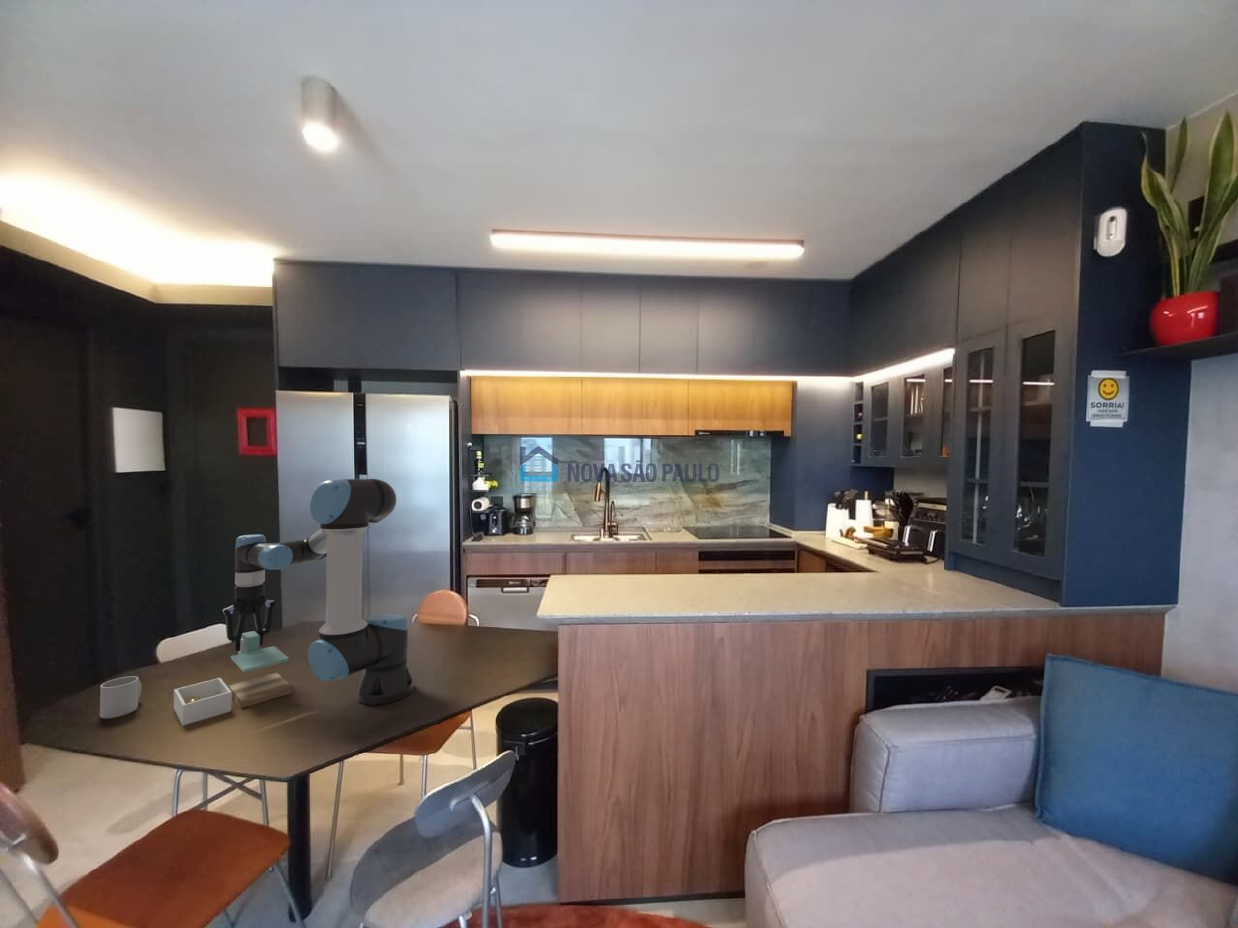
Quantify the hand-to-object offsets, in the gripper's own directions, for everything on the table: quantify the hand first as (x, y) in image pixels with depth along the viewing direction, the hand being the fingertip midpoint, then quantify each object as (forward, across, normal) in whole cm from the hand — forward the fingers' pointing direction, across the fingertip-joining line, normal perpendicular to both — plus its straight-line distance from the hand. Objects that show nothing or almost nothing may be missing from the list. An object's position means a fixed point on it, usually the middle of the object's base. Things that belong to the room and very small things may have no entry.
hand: (248, 658), depth 150 cm
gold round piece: (+7, +14, +10) cm, 19 cm away
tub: (+8, +13, +13) cm, 20 cm away
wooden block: (+8, 0, +13) cm, 15 cm away
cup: (+8, +27, -4) cm, 28 cm away
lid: (-2, 0, +9) cm, 9 cm away
